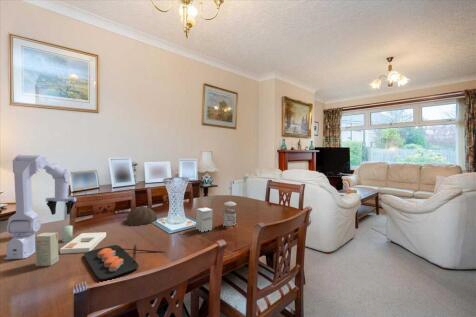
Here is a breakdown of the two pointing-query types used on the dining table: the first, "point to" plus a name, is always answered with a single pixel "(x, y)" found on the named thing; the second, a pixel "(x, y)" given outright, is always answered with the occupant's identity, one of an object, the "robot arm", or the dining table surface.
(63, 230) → the peg
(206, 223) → the supplement box
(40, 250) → the skincare box
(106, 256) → the sushi plate
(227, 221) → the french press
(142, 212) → the decorative dome
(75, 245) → the hole board
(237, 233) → the dining table surface
